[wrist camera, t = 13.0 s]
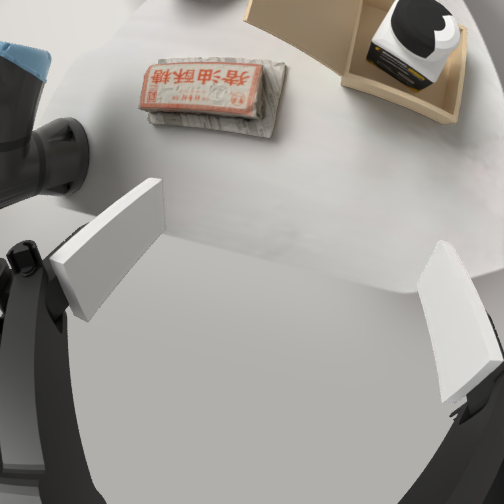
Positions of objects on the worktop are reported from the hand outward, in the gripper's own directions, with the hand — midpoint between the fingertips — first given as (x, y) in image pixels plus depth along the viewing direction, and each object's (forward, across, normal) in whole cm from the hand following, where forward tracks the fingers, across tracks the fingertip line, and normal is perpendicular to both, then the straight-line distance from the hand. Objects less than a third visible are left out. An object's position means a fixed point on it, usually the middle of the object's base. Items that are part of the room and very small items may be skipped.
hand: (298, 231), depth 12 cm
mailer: (+25, +6, +13) cm, 28 cm away
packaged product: (+25, -14, +3) cm, 29 cm away
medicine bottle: (+24, +9, +13) cm, 29 cm away
